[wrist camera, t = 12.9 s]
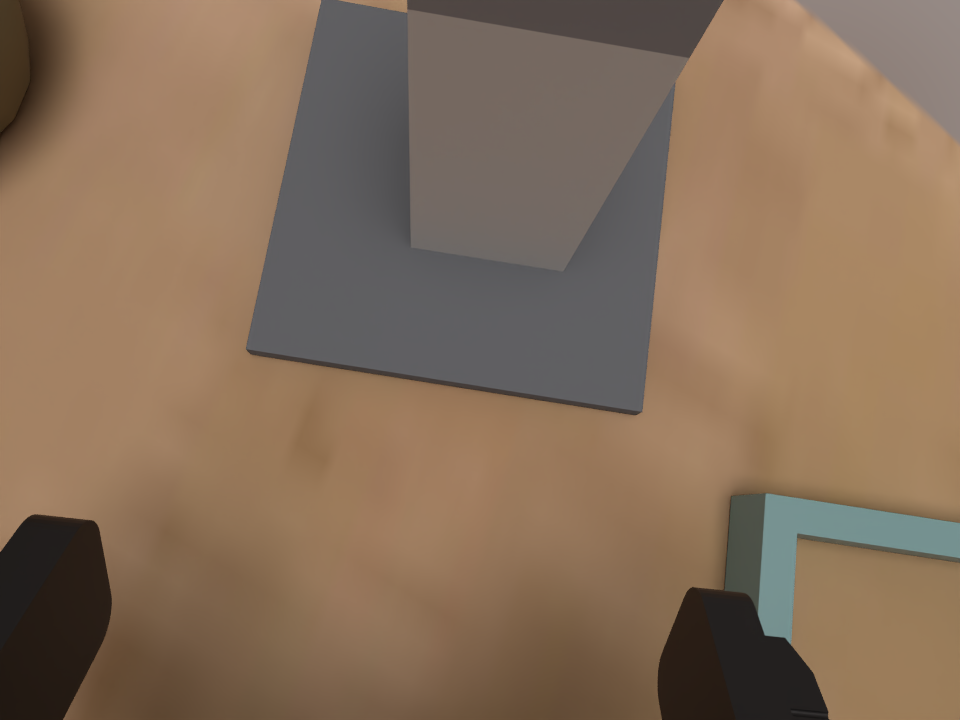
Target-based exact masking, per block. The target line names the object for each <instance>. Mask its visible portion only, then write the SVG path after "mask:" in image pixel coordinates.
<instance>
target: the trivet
mask: <svg viewBox="0 0 960 720" xmlns="http://www.w3.org/2000/svg"><path fill="white" fill-rule="evenodd" d="M674 91H675V83H674V85H673V87H672V88H671V90H670V92H669V93H668V95H667V97H666V98H665V100H664V102H663V104H662V105H661V107H660V109H659V110H658V112H657V114H656V115H655V117H654V119H653V120H652V122H651V124H650V126H649V127H648V129H647V131H646V132H645V134H644V136H643V137H642V139H641V141H640V142H639V144H638V146H637V148H636V149H635V151H634V153H633V154H632V156H631V158H630V159H629V161H628V163H627V164H626V166H625V168H624V170H623V171H622V173H621V175H620V176H619V178H618V180H617V181H616V183H615V185H614V186H613V188H612V190H611V192H610V193H609V195H608V197H607V198H606V200H605V202H604V203H603V205H602V207H601V208H600V210H599V212H598V213H597V215H596V217H595V219H594V220H593V222H592V224H591V225H590V227H589V229H588V230H587V232H586V234H585V235H584V237H583V239H582V241H581V242H580V244H579V246H578V247H577V249H576V251H575V252H574V254H573V256H572V257H571V259H570V261H569V263H568V264H567V266H566V268H565V269H564V271H557V270H550V269H544V268H538V267H531V266H525V265H519V264H512V263H506V262H499V261H493V260H487V259H480V258H474V257H468V256H461V255H455V254H449V253H442V252H436V251H430V250H423V249H417V248H411V229H410V157H409V85H408V13H404V12H398V11H393V10H387V9H382V8H376V7H371V6H365V5H360V4H354V3H349V2H343V1H338V0H321V5H320V9H319V14H318V19H317V23H316V28H315V32H314V37H313V42H312V46H311V51H310V56H309V60H308V65H307V69H306V74H305V79H304V83H303V88H302V92H301V97H300V102H299V106H298V111H297V115H296V120H295V125H294V129H293V134H292V139H291V143H290V148H289V152H288V157H287V162H286V166H285V171H284V175H283V180H282V185H281V189H280V194H279V198H278V203H277V208H276V212H275V217H274V222H273V226H272V231H271V235H270V240H269V245H268V249H267V254H266V258H265V263H264V268H263V272H262V277H261V282H260V286H259V291H258V295H257V300H256V305H255V309H254V314H253V318H252V323H251V328H250V332H249V337H248V341H247V346H246V350H247V351H248V352H249V353H250V354H252V355H259V356H265V357H271V358H277V359H284V360H290V361H296V362H303V363H309V364H315V365H322V366H328V367H334V368H341V369H347V370H353V371H360V372H366V373H372V374H379V375H385V376H391V377H398V378H404V379H410V380H417V381H423V382H429V383H436V384H442V385H448V386H455V387H461V388H467V389H474V390H480V391H486V392H493V393H499V394H505V395H512V396H518V397H524V398H530V399H537V400H543V401H549V402H556V403H562V404H568V405H575V406H581V407H587V408H594V409H600V410H606V411H613V412H619V413H625V414H632V415H637V414H639V413H641V412H642V409H643V399H644V389H645V379H646V369H647V359H648V349H649V339H650V329H651V319H652V310H653V300H654V290H655V280H656V270H657V260H658V250H659V240H660V230H661V220H662V210H663V200H664V190H665V180H666V170H667V161H668V151H669V141H670V131H671V121H672V111H673V101H674Z"/></svg>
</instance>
